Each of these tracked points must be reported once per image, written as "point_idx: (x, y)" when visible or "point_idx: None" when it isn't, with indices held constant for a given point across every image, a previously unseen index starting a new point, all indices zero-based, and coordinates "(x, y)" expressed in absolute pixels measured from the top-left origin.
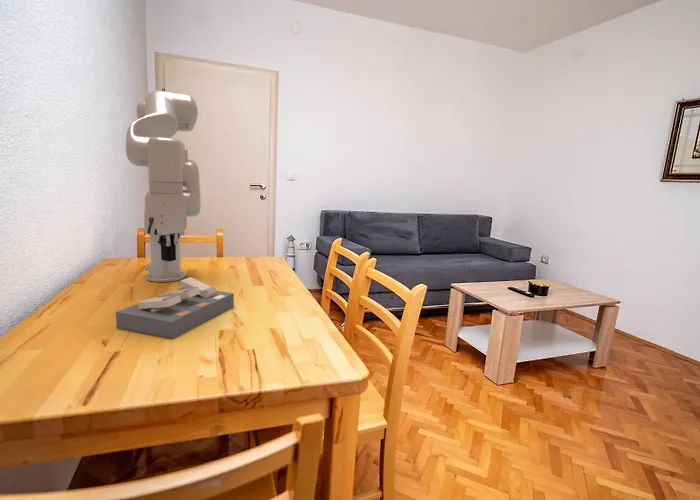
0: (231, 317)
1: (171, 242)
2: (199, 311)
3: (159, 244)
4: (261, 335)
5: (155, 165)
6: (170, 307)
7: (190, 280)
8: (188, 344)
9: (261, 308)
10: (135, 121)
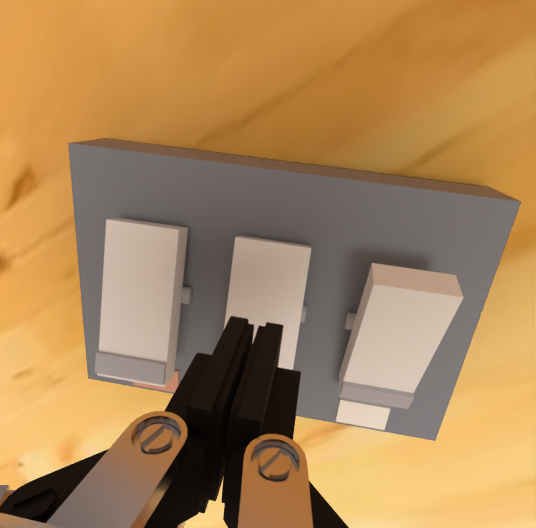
0: (320, 420)
1: (230, 523)
2: None
3: (138, 426)
4: (222, 512)
5: None
6: (193, 307)
7: (413, 314)
8: (112, 391)
9: (427, 474)
10: None
